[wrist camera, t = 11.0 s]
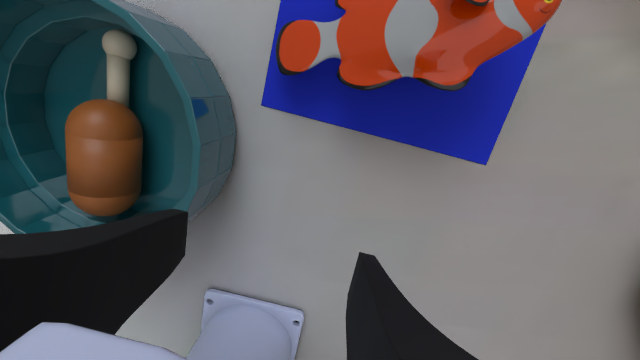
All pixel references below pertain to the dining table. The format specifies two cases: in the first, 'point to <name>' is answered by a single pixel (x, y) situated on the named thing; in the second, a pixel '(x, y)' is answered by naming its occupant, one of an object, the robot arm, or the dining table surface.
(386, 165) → the dining table surface
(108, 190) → the drumstick
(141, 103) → the teal mixing bowl
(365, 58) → the fish
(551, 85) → the dining table surface
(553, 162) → the dining table surface
